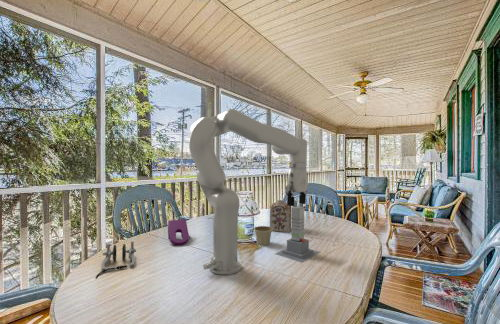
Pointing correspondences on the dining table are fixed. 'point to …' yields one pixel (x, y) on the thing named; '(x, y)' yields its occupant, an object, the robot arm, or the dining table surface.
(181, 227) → the mounting bracket
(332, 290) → the dining table surface
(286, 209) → the decorative jar
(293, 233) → the column
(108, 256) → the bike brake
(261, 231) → the flower pot
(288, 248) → the stand base
